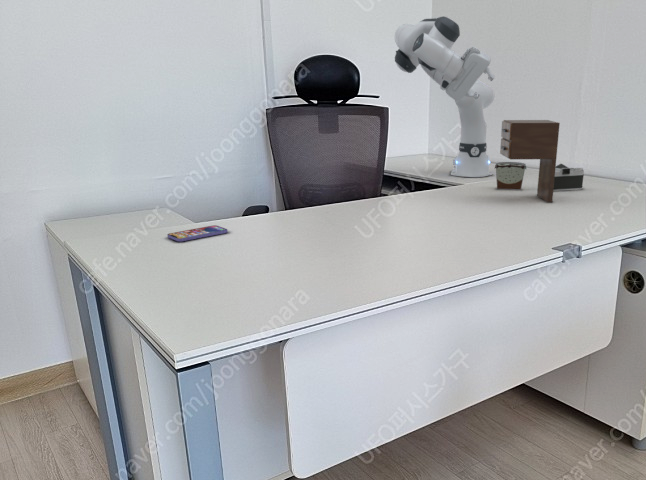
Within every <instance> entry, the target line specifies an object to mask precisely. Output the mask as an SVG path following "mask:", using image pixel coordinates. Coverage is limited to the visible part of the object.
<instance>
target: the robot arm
mask: <svg viewBox="0 0 646 480" xmlns="http://www.w3.org/2000/svg"><path fill="white" fill-rule="evenodd" d="M460 36H461V31H460V26H459V24H458V23H457V22H456V21H455V20H454V19H452V18H451V17H448V16H439V17H437V18H436V17H434V18H424V19H422V20H420V21H419V22H417V23H416V24H412V23H405V24H401V25H400V26H398V27H397V28H396V30H395V32H394V41H395V44H396V46H397V47H398V49H397V50H395V55H394V62H395V64H396V66H397V67H398V69H399V70H401V71H402V72H405V73H407V74H411V73H414V71H416V69H417V67H418V66H420V67H421V68H422V70H423V71H424V72H425V73H426V74H427V76H429V78H431V79H432V80H433V81H434V82H435V83H437V84H438V85H439V86H440V87H439V88H440V90H442V91H445V93H446V95H448V97H450V98H451V99H453V100H454V103H455V105H456V106H457V109H458V113H459V119H460V142H459V145H458V153H457V155H456V157H455V158H454V159H453V160H452V164H453V168H452V170H451V172H450V176H455V177H463V178H484V177H487V176H493V171H490V164H491V161H490V156H489V154H488V153H487V148H488V146H487V122H486V120H485V117H484V109H486V108H488V107H490V105H492V104H493V102H494V101H495V90H494V89H493V87H492V86H491V85H489V84H487V83H485V82H484V81H483V80H481V79H480V78H481V76H482V75H483V74H484V75H485V74H486V75H487V80H488V81H490V82H492V81H494V79H495V77H496V76H495V75H494V74H493V73H492V71H491V70H490V68H489V66H490V65H491V60H492V59H491V56H490V55H488V54H487V53H485V52H483V51H481V50H479V49H478V48H477V47H475V46H471V47H468V48H466V51H465V52H464V53H463V55H461V54H460V53H459V52H457V51H455V50H453V49H452V47H453V46H454V45H455V43H456V42H457V40H458V39H459V37H460Z"/></svg>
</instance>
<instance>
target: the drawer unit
mask: <svg viewBox="0 0 646 480" xmlns="http://www.w3.org/2000/svg"><path fill="white" fill-rule="evenodd" d="M560 124H561V123H560V122H558V121H554V120H549V119H503V120H502V121H501V131H500V133H501V134H500V149H499V154H500V155H502V156H503V157H505V158H507V159H508V160H539V167H538V179H537V192H536V195H537V196H538V198H541V199H542V200H543V201H545V202H546V203H548V204H552V203H553V198H554V191H553V189H554V178H555V168H556V166H557V157H558V156H557V155H558V147H559V146H558V145H559V135H560V134H559V133H560Z"/></svg>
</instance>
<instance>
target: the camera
mask: <svg viewBox="0 0 646 480" xmlns="http://www.w3.org/2000/svg"><path fill="white" fill-rule="evenodd" d="M584 174H585V169H584V168H583V167H581V166H579V167H578V166H577V167H568V166H566V165H565V164H563V163H559V164H556V168H555V178H554V189H553V192H561V191H562V192H564V191H577V190H579V191H580V190H583V188H584V186H583V184H584V176H585V175H584Z"/></svg>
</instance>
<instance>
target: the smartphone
mask: <svg viewBox="0 0 646 480" xmlns="http://www.w3.org/2000/svg"><path fill="white" fill-rule="evenodd" d="M227 233H228V229H227V228H225V227H222V226H220V225H215V224H214V225H208V226H207V225H206V226H203V227H198V228H191V229H185V230H180V231H175V232H170V233H167V234H166V235H167V238H168V239H171V240H174V241H176V242H186V241H192V240H195V239H196V240H197V239H201V238H206V237H212V236H217V235H221V234H227Z"/></svg>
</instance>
